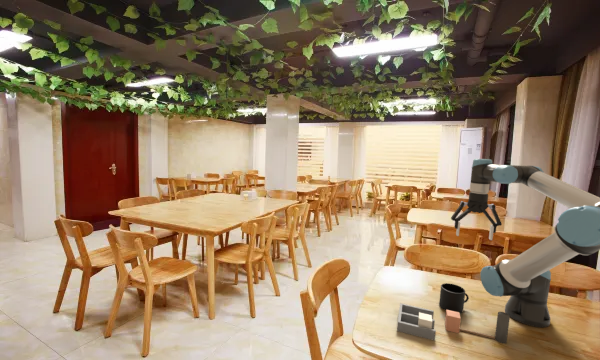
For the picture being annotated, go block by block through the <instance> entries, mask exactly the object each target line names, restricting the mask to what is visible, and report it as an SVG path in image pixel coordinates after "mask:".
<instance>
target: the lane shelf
mask: <svg viewBox="0 0 600 360" xmlns="http://www.w3.org/2000/svg"><path fill="white" fill-rule="evenodd" d="M398 308H399V309H398V315H397V316H398V318H397V326H396V331H397V332H400V333H405V334H408V335H411V336H416V337H418V338H419V337H420V338H424V339H426V340H427V339H428V340H431V341H436V333H437V332H436V329H435V319H434V314H435V313H434V309H428V308H423V307H420V306H415V305H411V304H405V303H401V302H400V303H399V307H398ZM419 312H420V313H424V314H429V315H432V329H430V328H426V327H422V326H418V318H419Z"/></svg>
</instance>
